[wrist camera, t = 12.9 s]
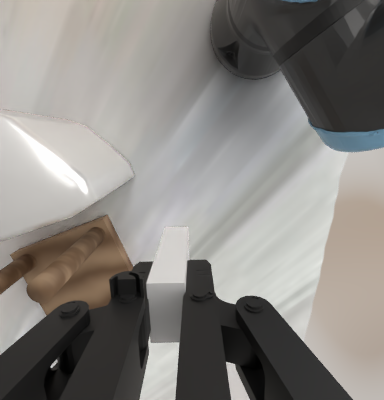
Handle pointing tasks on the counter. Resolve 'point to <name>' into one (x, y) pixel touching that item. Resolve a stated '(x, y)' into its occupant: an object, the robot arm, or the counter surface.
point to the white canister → (52, 171)
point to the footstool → (70, 266)
